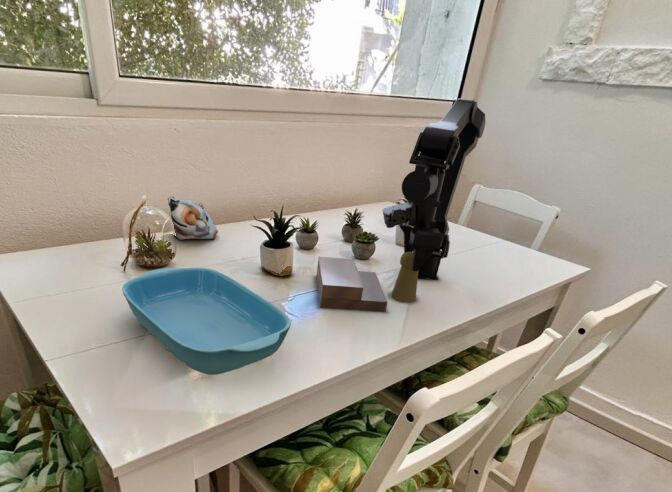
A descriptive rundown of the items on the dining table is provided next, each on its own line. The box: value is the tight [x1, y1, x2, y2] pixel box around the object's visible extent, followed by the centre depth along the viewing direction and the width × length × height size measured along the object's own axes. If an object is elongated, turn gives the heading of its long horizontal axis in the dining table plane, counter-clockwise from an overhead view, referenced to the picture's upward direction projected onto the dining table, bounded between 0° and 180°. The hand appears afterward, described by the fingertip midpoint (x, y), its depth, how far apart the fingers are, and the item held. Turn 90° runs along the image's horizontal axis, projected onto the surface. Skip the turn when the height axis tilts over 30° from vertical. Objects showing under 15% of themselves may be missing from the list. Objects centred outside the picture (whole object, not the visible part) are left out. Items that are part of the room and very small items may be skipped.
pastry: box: [262, 265, 293, 277], centre depth 119 cm, size 9×7×4 cm
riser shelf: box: [315, 256, 388, 313], centre depth 110 cm, size 15×18×6 cm
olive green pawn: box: [390, 252, 419, 304], centre depth 110 cm, size 6×6×11 cm
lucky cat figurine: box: [167, 195, 219, 241], centre depth 132 cm, size 15×12×14 cm
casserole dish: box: [121, 267, 292, 376], centre depth 87 cm, size 37×22×7 cm, turn 41°
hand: (410, 263), depth 108 cm, fingers open, 9 cm apart
